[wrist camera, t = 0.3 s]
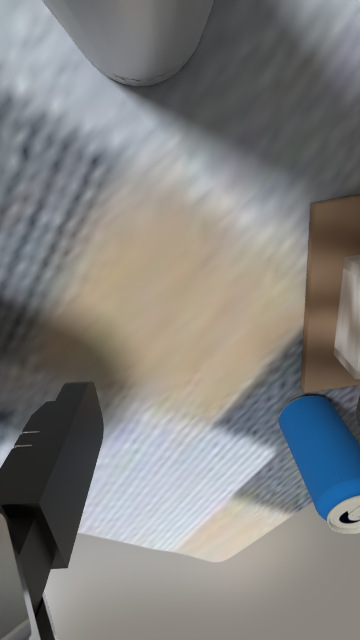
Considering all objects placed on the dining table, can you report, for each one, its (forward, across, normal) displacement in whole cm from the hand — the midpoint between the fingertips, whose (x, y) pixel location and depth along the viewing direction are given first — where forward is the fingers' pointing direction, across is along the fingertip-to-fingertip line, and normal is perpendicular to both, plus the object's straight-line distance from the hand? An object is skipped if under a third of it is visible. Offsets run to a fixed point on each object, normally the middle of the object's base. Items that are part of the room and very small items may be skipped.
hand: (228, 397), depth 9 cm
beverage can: (+20, -12, +21) cm, 32 cm away
